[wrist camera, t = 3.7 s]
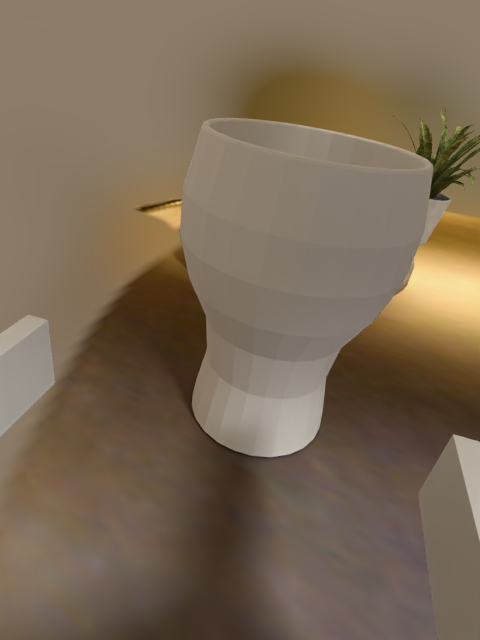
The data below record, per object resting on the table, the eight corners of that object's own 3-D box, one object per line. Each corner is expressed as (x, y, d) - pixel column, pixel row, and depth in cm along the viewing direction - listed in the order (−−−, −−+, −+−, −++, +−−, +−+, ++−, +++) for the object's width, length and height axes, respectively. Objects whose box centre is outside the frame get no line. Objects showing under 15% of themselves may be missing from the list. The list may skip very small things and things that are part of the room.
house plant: (490, 254, 57) (554, 124, 49) (435, 269, 49) (500, 117, 41) (403, 218, 66) (444, 103, 58) (345, 225, 59) (382, 94, 50)
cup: (130, 434, 22) (134, 123, 14) (210, 336, 31) (240, 110, 23) (327, 515, 20) (462, 196, 12) (353, 384, 28) (441, 151, 21)
